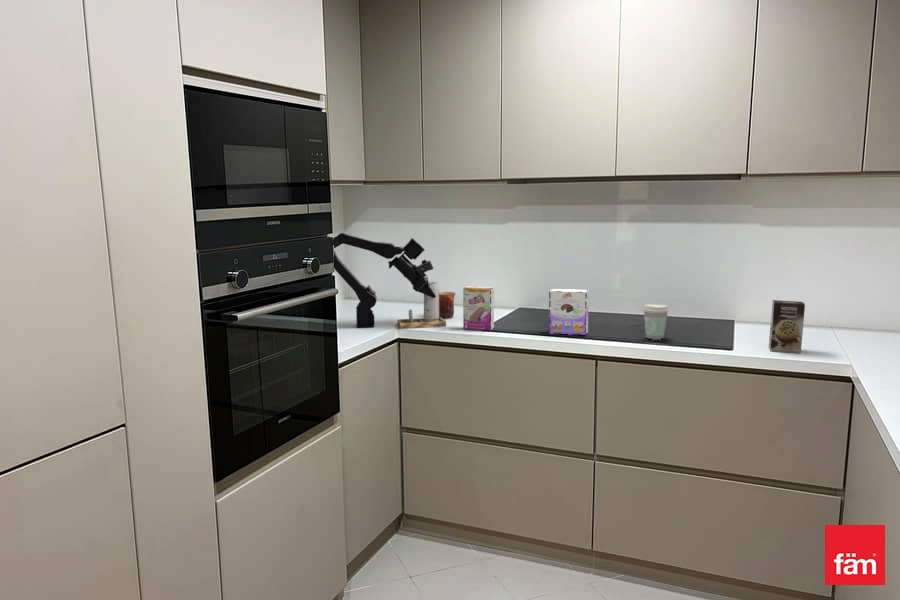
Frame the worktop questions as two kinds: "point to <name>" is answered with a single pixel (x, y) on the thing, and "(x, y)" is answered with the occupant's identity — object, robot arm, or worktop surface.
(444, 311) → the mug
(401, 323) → the rack
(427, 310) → the energy drink can
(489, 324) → the candy bar box
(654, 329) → the coffee cup
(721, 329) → the worktop surface
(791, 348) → the brown cookie box
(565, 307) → the candy box
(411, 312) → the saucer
